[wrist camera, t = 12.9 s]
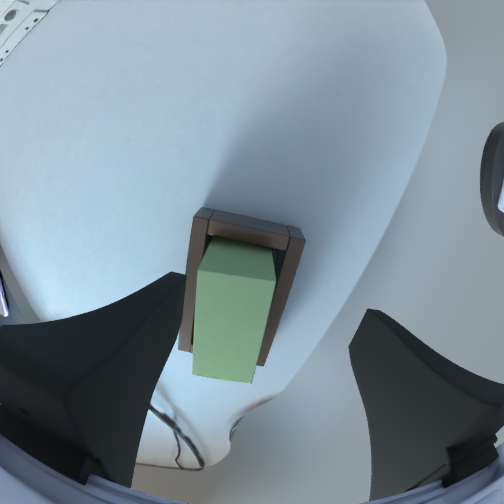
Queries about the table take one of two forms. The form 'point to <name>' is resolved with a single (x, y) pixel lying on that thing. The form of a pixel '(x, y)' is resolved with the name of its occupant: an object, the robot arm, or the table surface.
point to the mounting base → (249, 232)
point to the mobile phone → (3, 302)
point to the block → (231, 309)
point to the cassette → (19, 21)
